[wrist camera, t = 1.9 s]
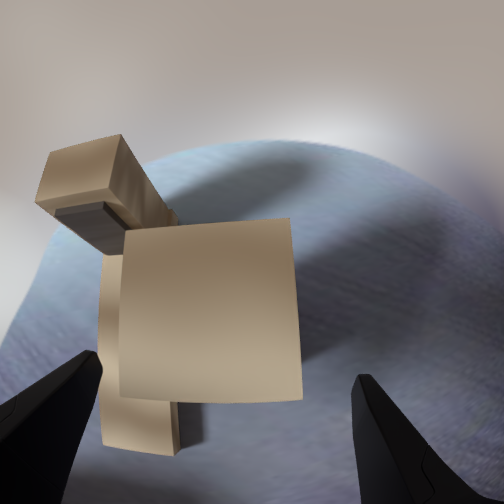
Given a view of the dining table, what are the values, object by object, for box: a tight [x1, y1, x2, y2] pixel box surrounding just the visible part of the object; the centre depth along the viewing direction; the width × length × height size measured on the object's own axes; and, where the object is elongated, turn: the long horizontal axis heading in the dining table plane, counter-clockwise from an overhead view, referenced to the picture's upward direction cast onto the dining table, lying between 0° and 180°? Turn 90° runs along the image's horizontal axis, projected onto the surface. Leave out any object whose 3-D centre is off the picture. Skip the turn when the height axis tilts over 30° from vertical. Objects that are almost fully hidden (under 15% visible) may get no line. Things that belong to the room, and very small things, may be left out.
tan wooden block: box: [119, 218, 303, 403], centre depth 13 cm, size 5×4×12 cm
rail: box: [35, 134, 181, 456], centre depth 14 cm, size 16×5×10 cm, turn 4°
